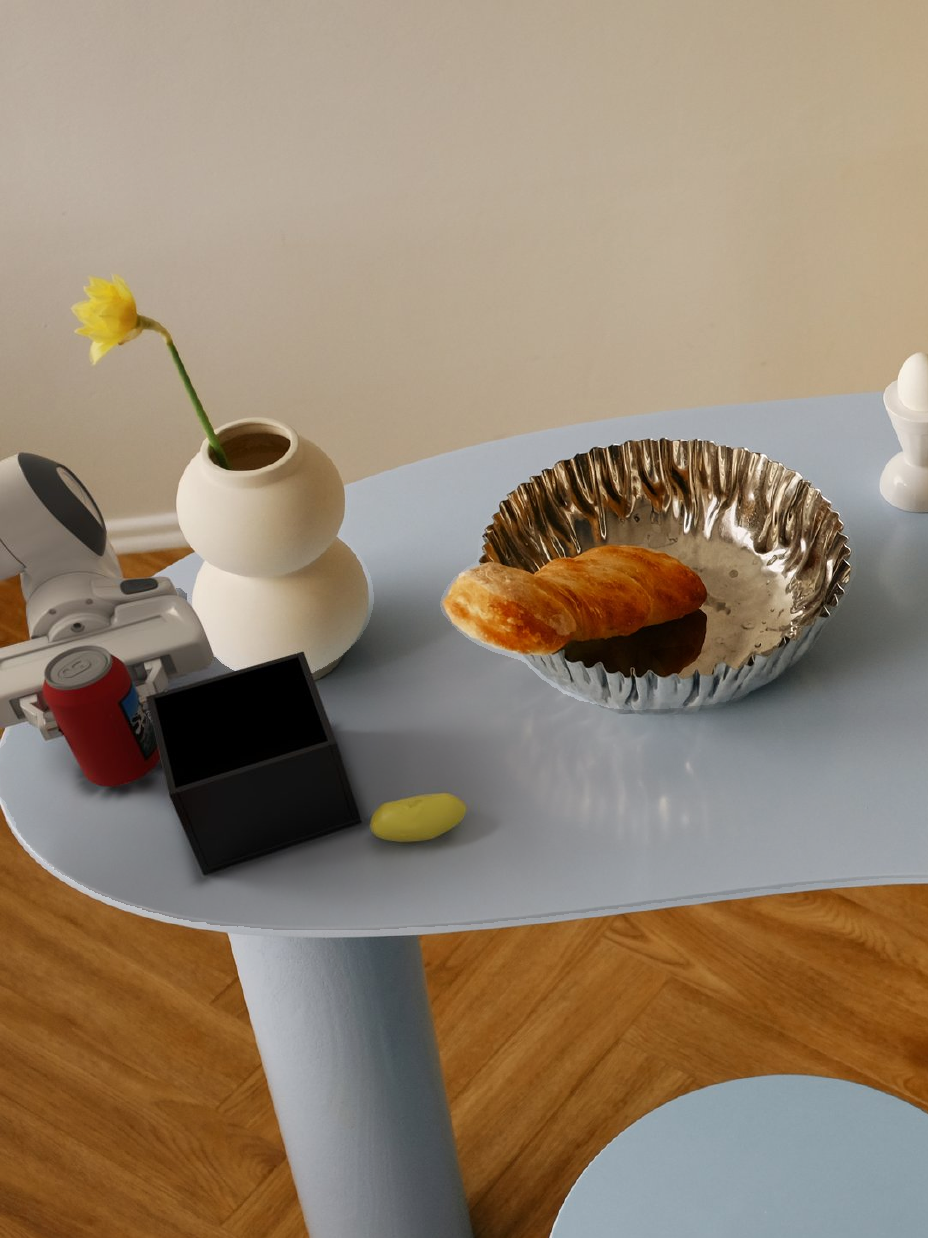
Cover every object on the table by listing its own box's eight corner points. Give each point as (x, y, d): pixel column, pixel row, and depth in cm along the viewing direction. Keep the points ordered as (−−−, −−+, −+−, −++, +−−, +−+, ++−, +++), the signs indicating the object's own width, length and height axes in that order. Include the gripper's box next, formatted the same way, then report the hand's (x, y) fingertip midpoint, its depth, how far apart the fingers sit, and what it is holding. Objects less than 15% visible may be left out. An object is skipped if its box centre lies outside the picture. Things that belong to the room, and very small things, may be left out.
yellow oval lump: (376, 821, 130) (366, 789, 127) (470, 809, 131) (462, 777, 129) (373, 856, 127) (363, 824, 124) (469, 844, 128) (461, 812, 125)
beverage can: (180, 761, 135) (135, 660, 127) (112, 804, 132) (60, 703, 124) (139, 729, 139) (93, 629, 131) (71, 770, 135) (19, 669, 127)
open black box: (203, 875, 125) (168, 794, 119) (179, 776, 134) (145, 696, 128) (362, 823, 130) (336, 742, 124) (328, 730, 139) (303, 650, 132)
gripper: (-54, 635, 134) (-45, 729, 124) (185, 570, 141) (211, 655, 131) (-26, 688, 138) (-15, 783, 128) (205, 623, 145) (231, 708, 136)
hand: (101, 718), depth 130 cm, fingers closed on beverage can, 7 cm apart
